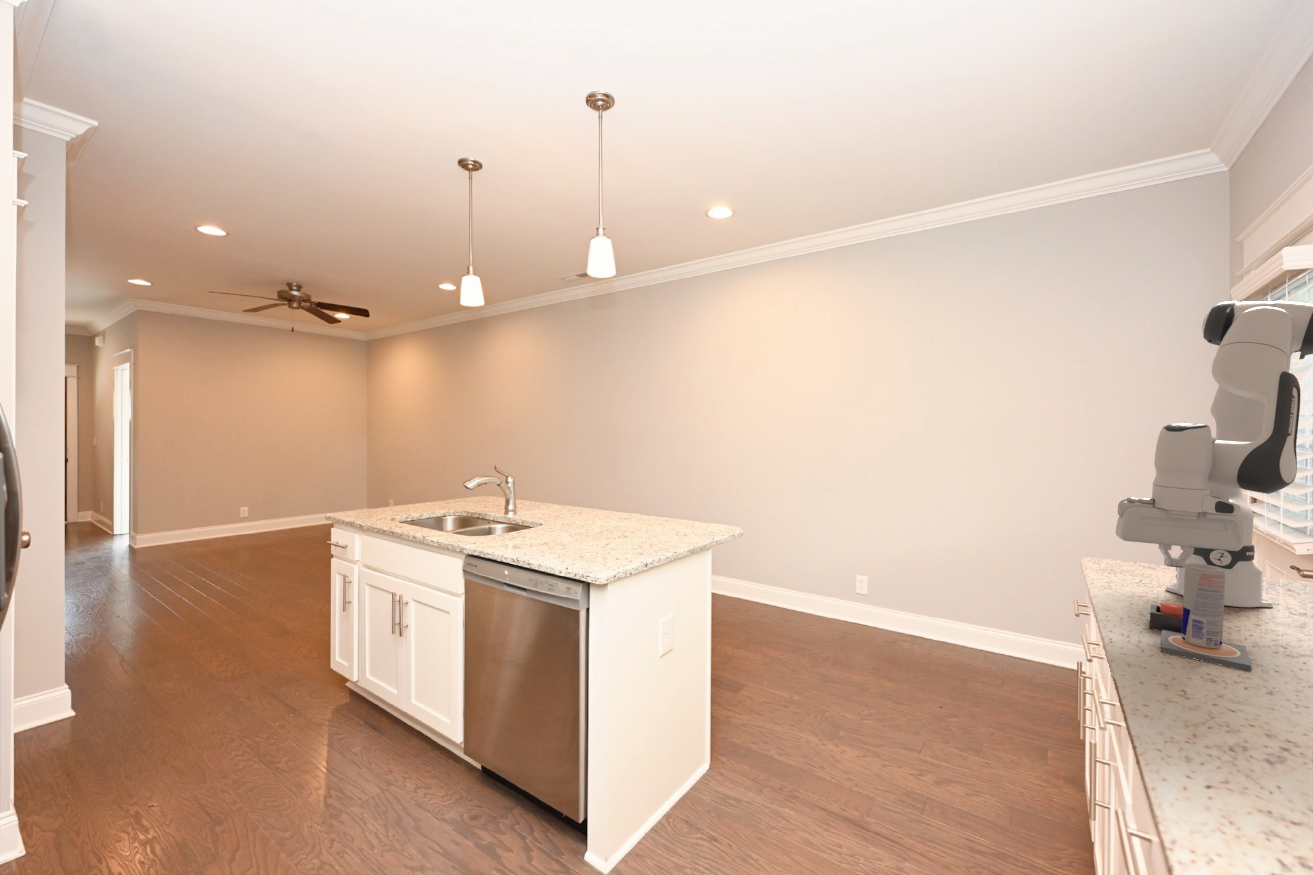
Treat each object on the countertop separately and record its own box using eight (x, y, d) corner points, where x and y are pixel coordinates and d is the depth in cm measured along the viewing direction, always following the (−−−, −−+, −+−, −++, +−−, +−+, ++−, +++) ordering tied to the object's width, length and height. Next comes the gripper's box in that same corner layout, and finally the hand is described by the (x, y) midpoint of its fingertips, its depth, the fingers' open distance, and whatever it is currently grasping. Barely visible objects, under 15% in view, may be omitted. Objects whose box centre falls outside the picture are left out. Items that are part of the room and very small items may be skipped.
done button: (1160, 612, 124) (1160, 601, 124) (1185, 617, 122) (1185, 605, 122) (1159, 617, 121) (1160, 605, 121) (1185, 622, 119) (1185, 610, 119)
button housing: (1150, 619, 127) (1151, 604, 126) (1194, 628, 122) (1195, 611, 122) (1149, 628, 121) (1150, 612, 121) (1194, 637, 117) (1195, 620, 116)
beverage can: (1229, 648, 108) (1233, 568, 108) (1209, 651, 107) (1212, 571, 106) (1194, 637, 114) (1197, 561, 113) (1174, 640, 112) (1177, 563, 112)
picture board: (1161, 634, 118) (1161, 628, 118) (1245, 650, 110) (1245, 645, 110) (1160, 651, 109) (1160, 646, 109) (1251, 671, 101) (1251, 665, 101)
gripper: (1124, 498, 121) (1120, 563, 121) (1251, 507, 114) (1245, 576, 114) (1113, 494, 127) (1108, 557, 127) (1232, 503, 120) (1227, 569, 120)
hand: (1174, 566), depth 121 cm, fingers closed
